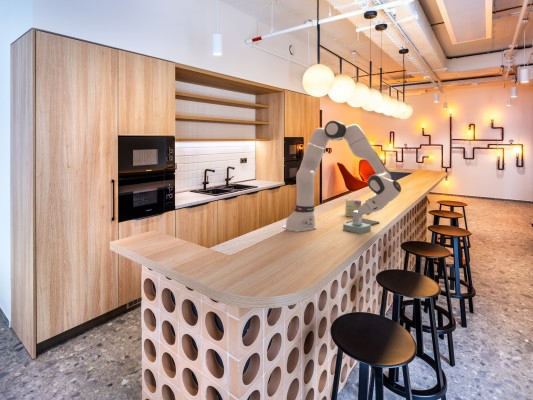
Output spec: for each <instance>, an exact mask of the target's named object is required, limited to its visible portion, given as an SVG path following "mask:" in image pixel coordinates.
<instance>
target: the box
mask: <svg viewBox="0 0 533 400" xmlns="http://www.w3.org/2000/svg"><path fill="white" fill-rule="evenodd" d="M361 206H362V200H361V199H349V198H348V199H345V208H344V209H345V212H344V215H345V217H353V211H357V210H358V209H359V208H360V207H361Z"/></svg>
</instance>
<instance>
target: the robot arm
mask: <svg viewBox="0 0 533 400" xmlns="http://www.w3.org/2000/svg"><path fill="white" fill-rule="evenodd" d="M341 140H345V141H346V144H347V145H348V147H349V150H350V151H351V153H352V154H353V155H354V156H355V157H357V158H360V159H363V160H365V161H367V162H368V164H369V165H370V166H371V167H372V169H373V171H374V172H375V174H372V175H370V176H369V177H368V179H367V186H368V188H369V189H370V191H372V192H373V193H374V195H373V196H371V197H370V198H367V199H366V200H365V201H364V202H363V204H361V207H360V208H359V209H358V210H357V212H358V213H359V214H358V215H357V217H358V218H359V217H361V215H362V216H364V215H366V216H369V215H371V214H373V213H376V212H380V211H381V210H383V209H384V208H385V207H386V206H387V205H388V204H389V203H390V202H392V201H393V200H395V199H396V198H397V197H398V196H399V195H400V193H401V191H402V187H401V184H400V183H399V182H398V181H397V180H395V178H394V175H393V173H392V172H390V171H389V170H388V169H387V168H386V166H385V165H384V163H383V162H382V159H381V158H380V157H379V155H378V153H377V152H376V151H375V149H374V148H373V147H372V144H371V143H370V141H369V140H368V137H367V135H366V134H365V132H364V131H363V130H362V128H361V127H360V126H359V124H356V123H353V124H350V125H347V126H346V125H345V123H343V122H341V121H338V120H334V119H333V120H330V121H328V122H327V123H326V124H325V126H324V128H323V127H318V128H315V129H314V131H313V133H312V134H311V136H310V138H309V140H308V142H307V146H306V148H305V152H304V154H303V157H302V159H301V160H302V161H301V163H300V166H299V169H298V170H297V172H296V184H295V185H296V204H295V205H292V206H291V209H292V210H294V211H292V213H291V214H290V215H289V216H288V217H287V218H286V223H285V224H284V225H282V229H284V230H286V231H289V232H296V233H298V232H305V231H312V230H316V229H317V227H316V218H315V204H314V203H315V177H316V174H317V171H318V168H319V167H320V164H321V161H322V158H323V155H324V153H325V151H326V148H327V145H328V143H329V141H341Z"/></svg>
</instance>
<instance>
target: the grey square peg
mask: <svg viewBox="0 0 533 400" xmlns="http://www.w3.org/2000/svg"><path fill="white" fill-rule="evenodd" d="M358 214H359V213H358V212H357V211H353V216H352V220H353V225H355V226H361V225H362V218H363V215H361V217H359V218H358V217H357V215H358Z"/></svg>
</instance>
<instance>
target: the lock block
mask: <svg viewBox="0 0 533 400" xmlns="http://www.w3.org/2000/svg"><path fill="white" fill-rule="evenodd" d="M342 230H344V231H347V232H351V233H355V234H359V235H360V234H364V233H367V232H370V231H371V230H372V226H371V225H369V224H365V223H362V225H361V226H355V225H353V222H350V223H346V222H345V223H343V226H342Z"/></svg>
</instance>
